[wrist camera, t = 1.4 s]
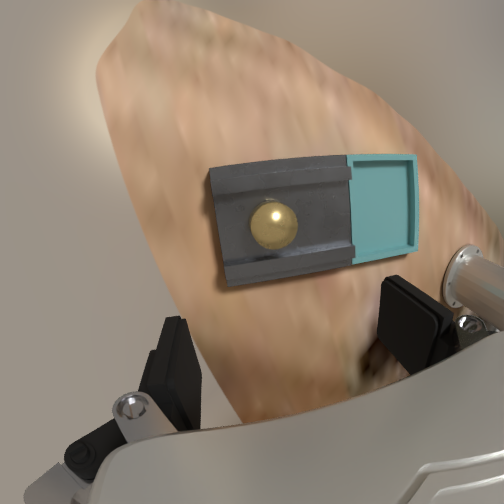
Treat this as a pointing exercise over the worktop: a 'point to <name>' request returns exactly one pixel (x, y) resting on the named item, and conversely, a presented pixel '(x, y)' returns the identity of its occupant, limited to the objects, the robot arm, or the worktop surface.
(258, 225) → the brass puck
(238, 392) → the worktop surface
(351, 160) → the tray
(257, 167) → the slot plate
